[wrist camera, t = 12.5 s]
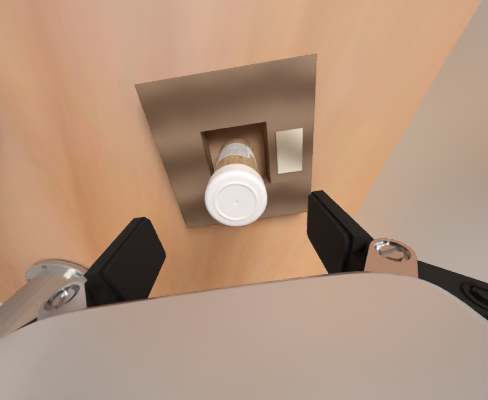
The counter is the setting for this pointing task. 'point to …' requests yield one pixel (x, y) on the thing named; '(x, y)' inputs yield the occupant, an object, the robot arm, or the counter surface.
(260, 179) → the sprinkles bottle
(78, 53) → the counter surface
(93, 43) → the counter surface
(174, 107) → the socket board
